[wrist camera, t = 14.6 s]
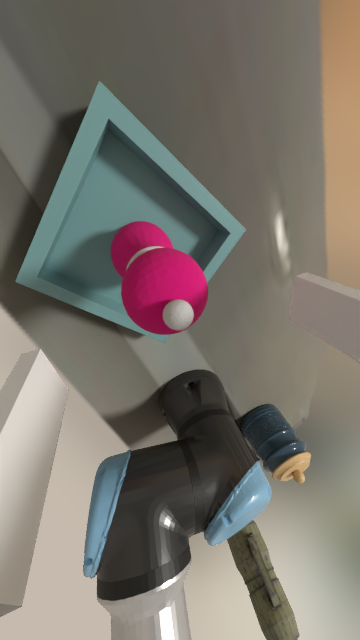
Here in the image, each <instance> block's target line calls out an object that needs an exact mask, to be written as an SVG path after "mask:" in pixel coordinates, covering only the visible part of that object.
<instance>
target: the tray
mask: <svg viewBox="0 0 360 640" xmlns="http://www.w3.org/2000/svg"><path fill="white" fill-rule="evenodd" d="M135 221H146V222H150V223H152V224H155V225H157V226H158V227H159V228H161V229H162V230H163V231H164V232H165V233H166V235H167V236H168V237H169V239H170V241H171V243H172V246H173V249H177V250H179V251H182V252H184V253H186V254H187V255H189V256H190V257H192V258H193V259H194V260H195V261H196V262H197V264H198V265H199V266H200V268H201V269H202V271H203V273H204V275H205V278H206V281H207V283H208V281H209V280H210V279H211V277H212V276H213V274H214V273H215V272H216V270H217V269H218V268H219V266H220V265H221V263H222V262H223V261H224V259H225V258H226V257H227V255H228V254H229V252H230V251H231V250H232V248H233V247H234V246H235V244H236V243H237V241H238V240H239V239H240V237H241V236H242V234H243V233H244V232H245V230H246V229H245V228H244V227H243V226H242V225H241V224H240V223H239V222H238V221H237V220H236V219H235V218H234V217H233V216H232V215H231V214H230V213H229V212H228V211H227V210H226V209H225V208H224V207H223V206H222V205H221V204H220V203H219V202H218V201H217V200H216V199H215V198H214V197H213V196H212V195H211V193H210V192H209V191H208V190H207V189H206V188H205V187H204V186H203V185H202V184H201V183H200V182H199V181H198V180H197V179H196V178H195V177H194V176H193V175H192V174H191V173H190V172H189V171H188V170H187V169H186V168H185V167H184V166H183V165H182V164H181V163H180V162H179V161H178V160H177V159H176V158H175V157H174V156H173V155H172V154H171V153H170V152H169V151H168V150H167V149H166V148H165V147H164V146H163V145H162V144H161V143H160V142H159V141H158V140H157V139H156V138H155V137H154V136H153V135H152V134H151V133H150V132H149V131H148V130H147V129H146V128H145V127H144V126H143V125H142V124H141V123H140V122H139V121H138V120H137V118H136V117H135V116H134V115H133V114H132V113H131V112H130V111H129V110H128V109H127V108H126V107H125V106H124V105H123V104H122V103H121V102H120V101H119V100H118V99H117V98H116V97H115V96H114V95H113V94H112V93H111V92H110V91H109V90H108V89H107V88H106V87H105V86H104V85H103V84H102V83H101V82H100V81H99V83H98V85H97V88H96V90H95V93H94V95H93V97H92V100H91V102H90V105H89V107H88V109H87V112H86V114H85V116H84V119H83V121H82V124H81V126H80V128H79V131H78V133H77V135H76V138H75V140H74V143H73V145H72V147H71V150H70V152H69V155H68V157H67V159H66V162H65V164H64V166H63V169H62V171H61V174H60V176H59V178H58V181H57V183H56V186H55V188H54V190H53V193H52V195H51V197H50V200H49V202H48V205H47V207H46V209H45V212H44V214H43V216H42V219H41V221H40V224H39V226H38V228H37V231H36V233H35V236H34V238H33V240H32V243H31V245H30V247H29V250H28V252H27V255H26V257H25V259H24V262H23V264H22V267H21V269H20V271H19V274H18V276H17V278H16V281H15V282H16V283H19V284H21V285H24V286H26V287H29V288H31V289H34V290H36V291H38V292H41V293H43V294H46V295H48V296H51V297H53V298H56V299H58V300H60V301H63V302H65V303H68V304H70V305H73V306H75V307H78V308H80V309H83V310H85V311H87V312H90V313H92V314H95V315H97V316H100V317H102V318H105V319H107V320H109V321H112V322H114V323H117V324H119V325H122V326H124V327H127V328H129V329H132V330H134V331H136V332H139V333H141V334H144V335H146V336H149V337H151V338H154V339H156V340H158V341H161V342H163V343H164V342H165V341H166V339H167V338H168V337H169V335H170V334H169V335H159V334H154V333H150V332H148V331H146V330H144V329H142V328H140V327H139V326H138V325H136V324H135V323H134V322H133V321H132V320H131V318H130V317H129V316H128V314H127V312H126V310H125V307H124V305H123V302H122V297H121V284H122V280H123V278H122V277H121V276H120V275H119V274H118V273H117V271H116V270H115V268H114V265H113V262H112V259H111V244H112V241H113V238H114V236H115V235H116V233H117V232H118V231H119V230H120V229H121V228H122V227H123V226H125V225H127V224H129V223H131V222H135Z"/></svg>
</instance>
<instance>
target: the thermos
mask: <svg viewBox="0 0 360 640" xmlns="http://www.w3.org/2000/svg"><path fill="white" fill-rule="evenodd" d="M227 541H228V543H229V546H230V549H231V552H232V555H233V558H234V561H235V563H236V566H237V568H238V570H239V572H240V573H241V575H242V577H243V579H244V581H245V584H246V585H247V587H248V590H249V593H250V595H249V596H250V598H251V601H252V604H253V607H254V610H255V613H256V615H257V618H258V621H259V624H260V626H261V629H262V631H263V634H264V636H265V637H266V639H267V640H297V638H298V637H299V632H298V628H297V625H296V621H295V617H294V613H293V611H292V608H291V606H290V604H289V602H288V599H287V597H286V595H285V593H284V591H283V588H282V586H281V584H280V582H279V579H278V578H277V577H276V575H275V573H274V570H273V569H274V568H273V566H272V564H271V561H270V557H269V552H268V549H267V547H266V544H265V542H264V540H263V538H262V536H261V534H260V531H259V529H258V527H257V525H256V523H255V522H254V521H253V520H252V521H251V522H250V523H249V524H247V525H246V526H245V527H244V528H242V529H241V530H240V531H238V532H237V533H236V534H234V535H233V536H231V537H230V538H228V539H227Z"/></svg>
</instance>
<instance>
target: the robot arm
mask: <svg viewBox="0 0 360 640" xmlns="http://www.w3.org/2000/svg"><path fill="white" fill-rule="evenodd" d="M289 319H291V320H292V321H294V322H296V323H297V324H299V325H300V326H302V327H304V328H305V329H307V330H308V331H310V332H311V333H313V334H315V335H316V336H318V337H319V338H321V339H322V340H324V341H326V342H327V343H329V344H330V345H332V346H333V347H335V348H337V349H338V350H340V351H341V352H343V353H345V354H346V355H348V356H349V357H351V358H352V359H354V360H356V361H357V362H359V363H360V291H359V290H357V289H353V288H351V287H348V286H345V285H342V284H339V283H336V282H333V281H330V280H328V279H325V278H322V277H319V276H316V275H313V274H310V273H304V274H300V275H297V276H296V277H295V283H294V289H293V295H292V301H291V307H290V313H289ZM68 391H69V390H68V388H67V387H66V386H65V384H64V382H63V381H62V379H61V378H60V377H59V375H58V374H57V372H56V371H55V369H54V368H53V366H52V365H51V363H50V362H49V361H48V359H47V358H46V356H45V355H44V353H43V352H42V350H41V349H38V350H35V351H32V352H28V353H24V354H21V356H20V358H19V360H18V361H17V363H16V365H15V367H14V368H13V370H12V372H11V373H10V375H9V377H8V379H7V380H6V382H5V384H4V385H3V387H2V389H1V391H0V617H1V616H3V615H5V614H7V613H9V612H11V611H13V610H16V609H18V608H19V607H22V603H23V598H24V594H25V589H26V585H27V580H28V575H29V571H30V566H31V562H32V557H33V552H34V548H35V543H36V538H37V534H38V529H39V525H40V520H41V515H42V511H43V506H44V502H45V497H46V492H47V488H48V483H49V478H50V474H51V469H52V465H53V459H54V455H55V450H56V446H57V442H58V437H59V432H60V428H61V423H62V418H63V413H64V409H65V404H66V400H67V395H68ZM159 404H160V408H161V412H162V415H163V417H164V418H165V419H166V420H167V422H168V424H169V425H170V427H171V428H172V430H173V431H174V433H175V434H176V436H177V439H178V440H177V441H173V442H169V443H164V444H160V445H155V446H151V447H147V448H142V449H138V450H133V451H131V450H128V451H127V452H125V453H122V454H118V455H115V456H111V457H108V458H106V459H105V460H104V461H103V462H102V463H101V464H100V466H99V467H98V470H97V473H96V476H95V481H94V486H93V491H92V497H91V503H90V510H89V517H88V524H87V531H86V541H85V551H84V553H85V556H84V565H83V572H84V576H85V577H90V578H93V577H95V575H97V600H98V602H99V603H100V604H101V605H102V606H103V607H104V608H105V609H106V610H107V611H108V612H109V613H110V615H111V640H191V634H190V627H189V621H188V614H187V608H186V600H185V593H184V586H183V585H184V580H185V578H186V575H187V573H188V570H189V567H190V565H191V553H190V547H189V537H191V536H193V535H195V534H197V533H200V532H204V537H205V539H206V540H207V542H208V544H209V545H211V546H214V545H216V544H219V543H222V542H223V541H225V540H227V539H228V538H230V537H231V536H233V535H234V534H236V533H237V532H238V531H240V530H241V529H242V528H244V527H245V526H246V525H247V524H249V523H250V522H251V521H252V520H253V519H254V518H255V517H256V516H258V514H260V513H261V512H262V511H263V509H264V508H265V507H266V506H267V505H268V503H269V501H270V498H271V488H270V485H269V483H268V481H267V479H266V476H265V474H264V472H263V470H262V468H261V466H260V463H259V461H257V459H256V458H255V456H254V454H253V452H252V451H251V449H250V447H249V446H248V444H247V442H246V440H245V439H244V437H243V435H242V433H241V432H240V430H239V428H238V426H237V425H236V423H235V421H234V420H233V418H232V416H231V414H230V413H229V411H228V406H227V402H226V397H225V393H224V387H223V385H222V383H221V381H220V380H219V378H218V377H217V375H215V374H214V373H212V372H210V371H206V370H195V371H190V372H187V373H184V374H182V375H180V376H178V377H176V378H175V379H173V380H172V381H171V382H169V383H168V384H167V385H166V387H165V388H164V389H163V391H162V393H161V395H160V398H159Z"/></svg>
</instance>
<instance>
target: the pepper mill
mask: <svg viewBox="0 0 360 640" xmlns="http://www.w3.org/2000/svg"><path fill="white" fill-rule="evenodd" d="M111 259H112V262H113V265H114V268H115V270H116V271H117V273H118V274H119V275H120V276H121V277H122V278H123V280H122V284H121V297H122V302H123V305H124V307H125V310H126V312H127V314H128V316H129V317H130V318H131V320H132V321H133V322H134V323H135V324H136V325H138V326H139V327H140V328H142V329H144V330H146V331H148V332H150V333H154V334H159V335H169V334H174V333H179V332H181V331H183V330H185V329H187V328H188V327H189V326H191V325H192V324H193V323H194V322H195V321H196V320H197V319H198V318H199V317H200V315H201V314H202V312H203V310H204V308H205V306H206V302H207V297H208V287H207V281H206V278H205V275H204V273H203V271H202V269H201V268H200V266H199V265H198V264H197V262H196V261H195V260H194V259H193V258H192V257H190V256H189V255H187V254H186V253H184V252H182V251H179V250H177V249H173V246H172V243H171V241H170V239H169V237H168V236H167V235H166V233H165V232H164V231H163V230H162V229H161V228H159V227H158V226H157V225H155V224H152V223H150V222H146V221H135V222H131V223H129V224H127V225H125V226H123V227H122V228H121V229H120V230H119V231H118V232H117V233H116V235H115V236H114V238H113V241H112V244H111Z"/></svg>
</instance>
